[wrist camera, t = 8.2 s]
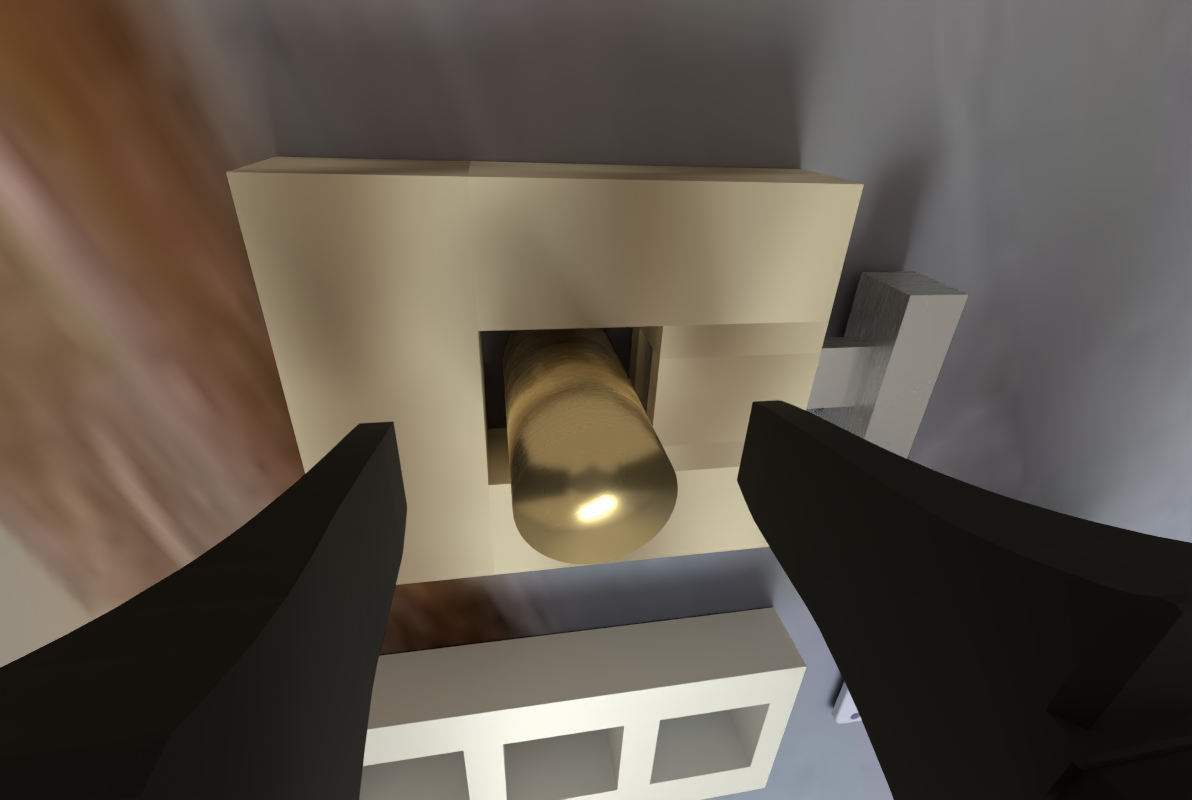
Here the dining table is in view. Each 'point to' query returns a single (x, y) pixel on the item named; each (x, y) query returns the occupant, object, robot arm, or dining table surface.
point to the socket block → (539, 319)
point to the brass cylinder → (581, 449)
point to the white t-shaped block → (882, 358)
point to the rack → (586, 713)
